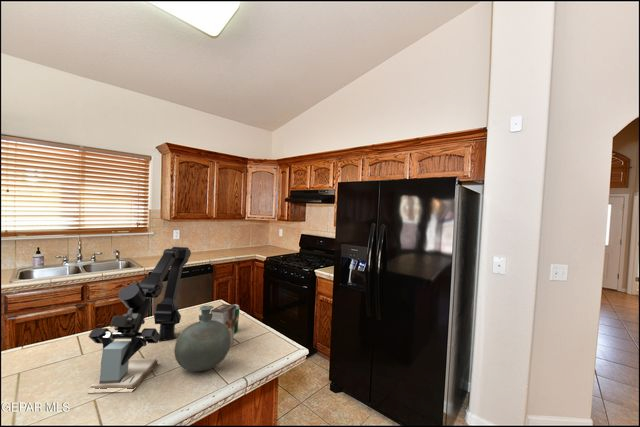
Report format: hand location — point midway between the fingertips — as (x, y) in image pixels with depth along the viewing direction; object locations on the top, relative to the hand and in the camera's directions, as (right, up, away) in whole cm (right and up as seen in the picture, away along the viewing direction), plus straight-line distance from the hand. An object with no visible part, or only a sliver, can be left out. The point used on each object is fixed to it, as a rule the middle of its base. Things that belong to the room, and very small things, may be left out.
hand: (112, 365), depth 77 cm
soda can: (+21, -11, +44) cm, 50 cm away
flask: (+21, -9, +12) cm, 26 cm away
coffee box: (+21, -10, +29) cm, 38 cm away
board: (0, -7, +5) cm, 9 cm away
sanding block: (-1, -5, +1) cm, 5 cm away
